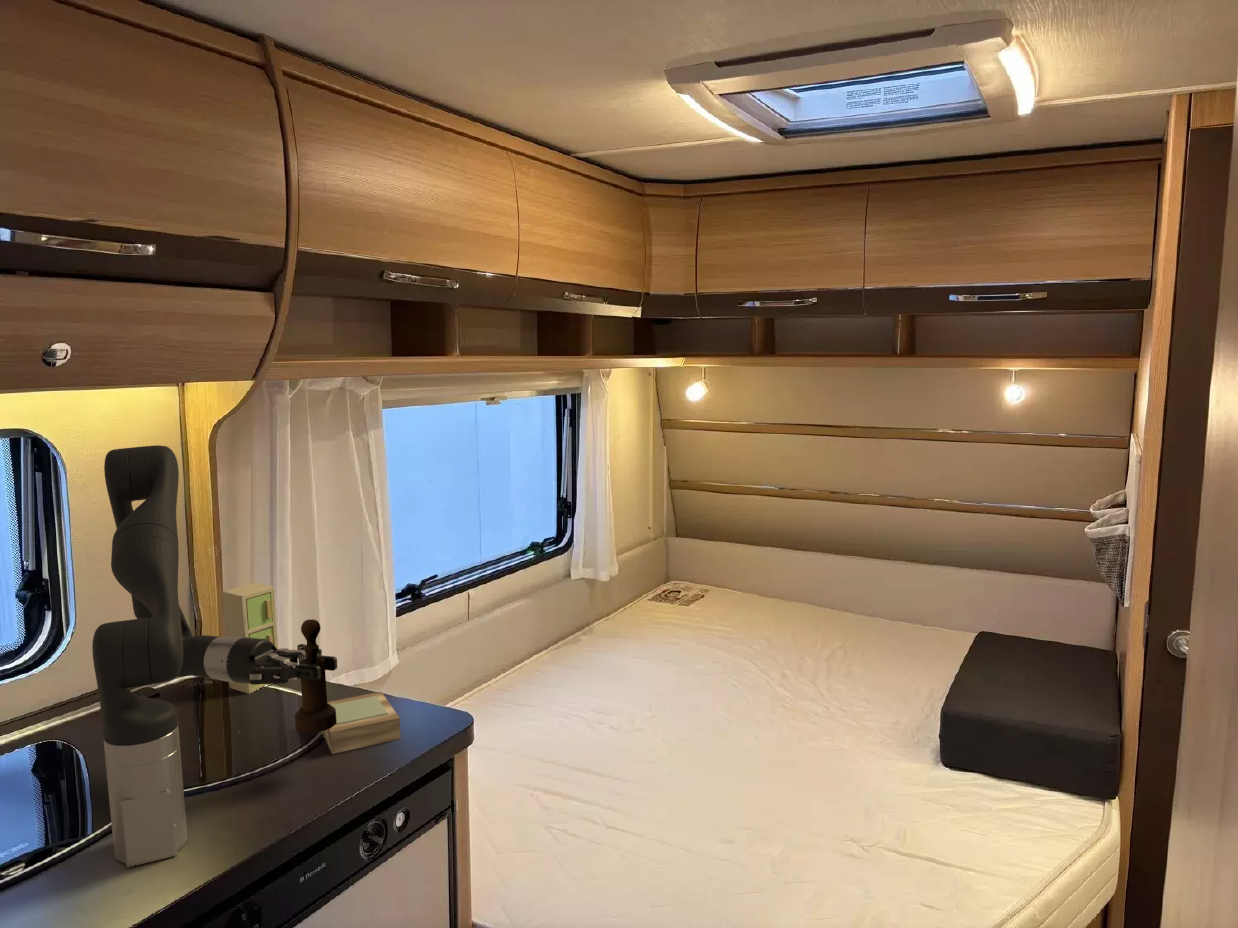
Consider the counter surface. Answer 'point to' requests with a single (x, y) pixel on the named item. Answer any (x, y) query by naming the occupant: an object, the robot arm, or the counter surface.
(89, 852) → the counter surface
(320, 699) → the dark brown pepper mill
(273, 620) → the toy refrigerator
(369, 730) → the birch pedestal
